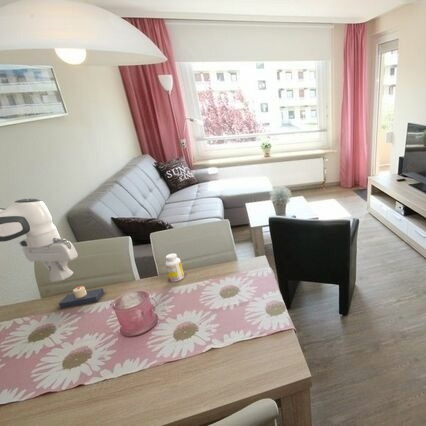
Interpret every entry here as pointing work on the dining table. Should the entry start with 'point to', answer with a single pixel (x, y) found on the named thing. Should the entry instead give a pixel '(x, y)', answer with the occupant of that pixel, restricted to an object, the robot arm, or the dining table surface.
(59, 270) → the flask
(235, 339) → the dining table surface
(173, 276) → the supplement bottle
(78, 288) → the small cream cake
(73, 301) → the control panel
